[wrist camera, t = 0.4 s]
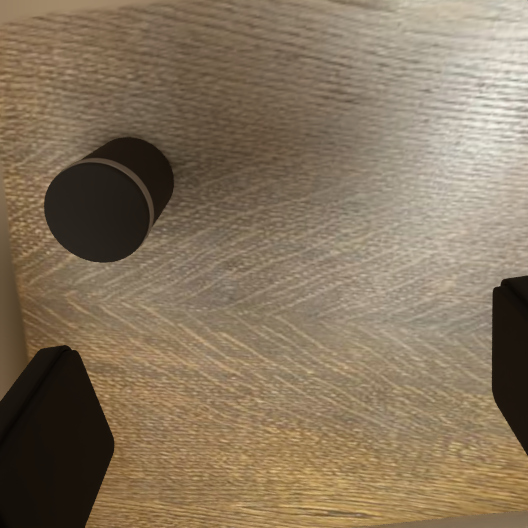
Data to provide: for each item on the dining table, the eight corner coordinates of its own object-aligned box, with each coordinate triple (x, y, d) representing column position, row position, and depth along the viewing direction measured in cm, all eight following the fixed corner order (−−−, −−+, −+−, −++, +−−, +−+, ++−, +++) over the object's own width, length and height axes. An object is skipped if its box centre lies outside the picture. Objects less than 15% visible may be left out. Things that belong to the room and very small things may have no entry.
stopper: (78, 145, 26) (25, 174, 20) (161, 128, 25) (130, 153, 20) (106, 225, 27) (65, 272, 22) (184, 210, 27) (161, 254, 22)
